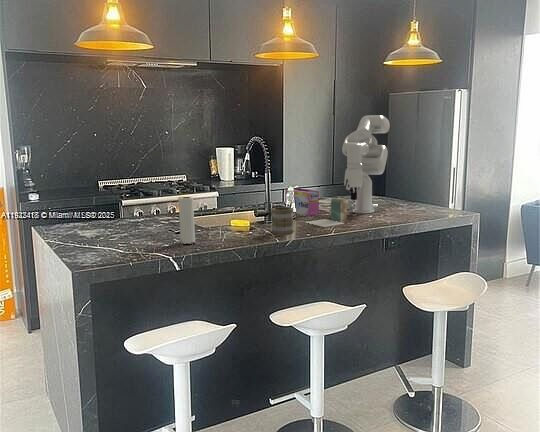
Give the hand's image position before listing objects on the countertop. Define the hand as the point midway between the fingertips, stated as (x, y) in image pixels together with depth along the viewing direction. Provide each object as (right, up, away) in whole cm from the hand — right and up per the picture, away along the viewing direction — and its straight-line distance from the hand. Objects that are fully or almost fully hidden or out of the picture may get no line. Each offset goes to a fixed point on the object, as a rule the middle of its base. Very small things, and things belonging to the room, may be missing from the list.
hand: (353, 199), depth 295 cm
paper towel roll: (-83, -22, -50) cm, 99 cm away
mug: (-40, -17, -29) cm, 52 cm away
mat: (-17, -13, -10) cm, 23 cm away
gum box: (-27, -7, +24) cm, 37 cm away
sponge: (-9, -12, -4) cm, 15 cm away
